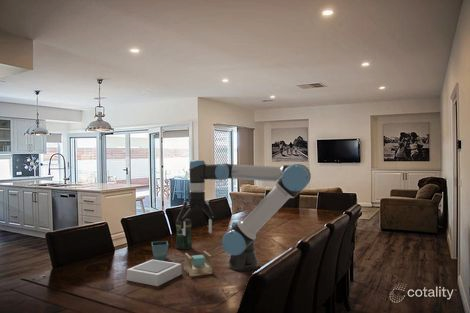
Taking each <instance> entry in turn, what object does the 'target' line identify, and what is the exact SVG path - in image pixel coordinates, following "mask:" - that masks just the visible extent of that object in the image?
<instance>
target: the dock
mask: <svg viewBox="0 0 470 313" xmlns="http://www.w3.org/2000/svg"><path fill="white" fill-rule="evenodd" d="M182 273H183V272H182V263H178V262H177V263H176V262H170V261H165V260H155V259H150V260H147V261H145V262H142V263H140V264H137V265H134V266H133V267H130V268H128V269H126V281H130V282H134V283H140V284H144V285H145V284H146V285H150V286H155V287H159V286H161V285H163V284H165V283H167V282H169V281H171V280H173V279H175V278H177V277H179V276H182Z"/></svg>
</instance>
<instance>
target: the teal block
mask: <svg viewBox="0 0 470 313" xmlns="http://www.w3.org/2000/svg"><path fill="white" fill-rule="evenodd" d="M190 257H191V258H192V265H193V266H194V267H197V266H205V257H204V256H203V254H196V255H190Z"/></svg>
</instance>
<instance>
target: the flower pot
mask: <svg viewBox="0 0 470 313" xmlns="http://www.w3.org/2000/svg"><path fill="white" fill-rule="evenodd" d="M151 250H152V251H151V252H152V254H153V258H154V260H159V261H165V260H166V259H167V257H168V254H169V243H168V240H163V241H152V242H151Z"/></svg>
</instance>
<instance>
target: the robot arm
mask: <svg viewBox="0 0 470 313" xmlns="http://www.w3.org/2000/svg"><path fill="white" fill-rule="evenodd" d="M188 171H189V191H190V192H189V201H186V200H184V201H183V202H182V207H181V208H180V211H179V213H178V215H177V218H176V220H178V221H180V222H181V228H182V229H183V235H184V236H185V222H184V221H185V219H188V217H189V216H190V214H191V213H192V212H193V211H203V212H204V213H205V214H206V215H207V217H208V218H209V219H208V233H209V234H213V227H214V224H215V222H214V221H215V219H218V214H217V213H216V211H215V209H214V207H213V205H212V200H209V199H207V200H206V196H205V195H206V194H205V193H206V192H205V189H206V186H205V184H206V183H205V181H206V180H213V181H214V180H216V181H218V180H219V181H222V180H223V181H225V180H227V179H231V180H232V179H235V180H247V181H248V180H249V181H259V182H260V181H261V182H273V183H274V182H275V186H274V187H273V188H272V189H271V190H270V191H269V192H268V193H267V194H266V196H264V198H262V199H261V201H260V202H259V203H258V204H257V205H256V206H255V207H254V208H253V210H251V211H250V212H249V213H248V215H246V217H245V218H244V219H243V220H238V221H233V222H232V224H231V228H230V229H229V230H228V231H227V232H225V233H224V234H223V237H222V238H221V245H222V248H223V250H224V251H225V252H226V253H227V254H228V255H230V257H229V261H228V268H229V269H231V270H233V271H240V272H241V271H242V272H243V271H244V272H245V271H253V270H256V269H258V267H259V262H258V258H257V255H256V252H255V240H256V238H257V236H256V234H257V233H258V232H259V231H260V230H261V228H262V227H263V226H265V224H267V222H269V220H270V219H271V218H272V217H273V216H274V215H275V214H276V213H277V212H278V211H279V210H280V209H281V208H282V207H283V205H285V203H287V201H288V200H289V199H294V198H295V199H296V197H297V196H298V195H299V194H300V193H301V191H303V190H304V189H305V188H306V187H307V186H308V185H309V183H310V181H311V177H312V176H311V171H310V169H309V168H308V167H307V166H306V165H304V164H299V163H295V164H290V165H289V164H283V165H282V166H271V165H253V164H251V165H250V164H233V163H232V164H231V163H220V164H219V163H216V164H213V163H212V164H206V162H205V160H200V159H199V160H196V159H195V160H190V162H189V169H188ZM205 205H207V207H208V209H209V210H210V212H209V211H208V209H207V208H206V207H205ZM188 206H189V208H188V209H187V211H186V208H187V207H188ZM185 211H186V212H185Z"/></svg>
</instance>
